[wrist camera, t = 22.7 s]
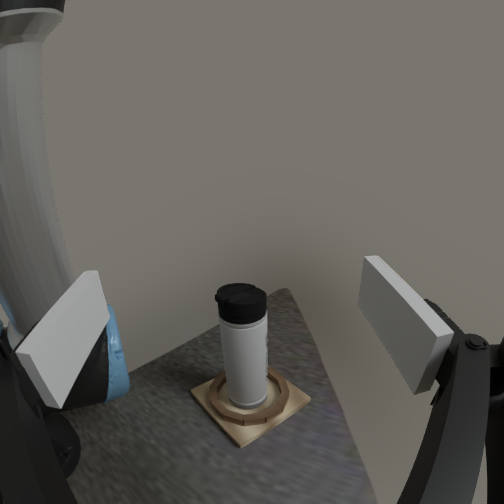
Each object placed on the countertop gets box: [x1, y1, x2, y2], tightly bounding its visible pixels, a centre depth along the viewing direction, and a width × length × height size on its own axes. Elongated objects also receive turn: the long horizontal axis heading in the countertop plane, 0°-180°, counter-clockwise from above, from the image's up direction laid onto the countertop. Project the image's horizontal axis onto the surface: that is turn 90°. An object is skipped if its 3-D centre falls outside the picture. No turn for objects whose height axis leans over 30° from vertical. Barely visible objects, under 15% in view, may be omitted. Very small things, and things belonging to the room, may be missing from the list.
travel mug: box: [215, 283, 268, 409], centre depth 40 cm, size 6×7×20 cm
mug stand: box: [190, 366, 311, 448], centre depth 44 cm, size 14×14×2 cm
